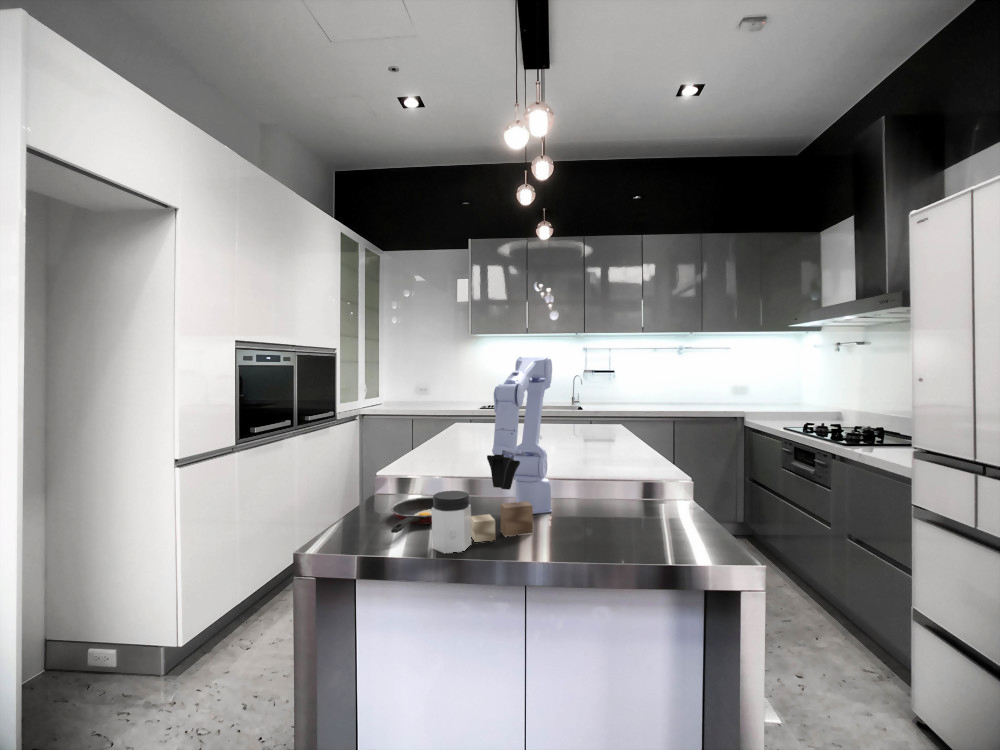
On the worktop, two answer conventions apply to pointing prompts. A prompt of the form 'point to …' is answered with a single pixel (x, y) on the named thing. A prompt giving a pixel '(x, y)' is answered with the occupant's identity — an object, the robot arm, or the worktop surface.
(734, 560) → the worktop surface
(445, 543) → the jar
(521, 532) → the walnut block
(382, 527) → the worktop surface
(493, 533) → the maple block
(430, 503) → the frying pan
